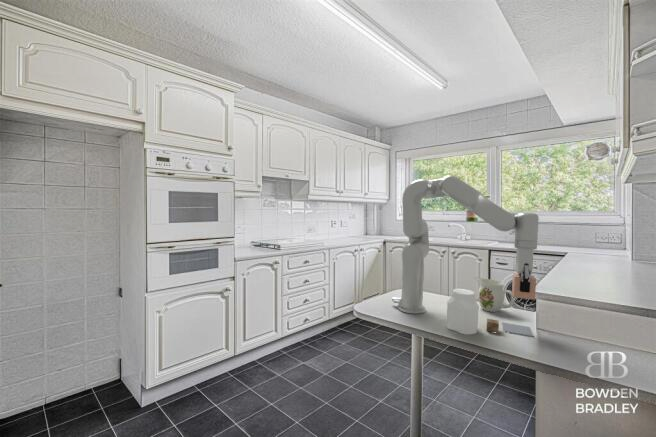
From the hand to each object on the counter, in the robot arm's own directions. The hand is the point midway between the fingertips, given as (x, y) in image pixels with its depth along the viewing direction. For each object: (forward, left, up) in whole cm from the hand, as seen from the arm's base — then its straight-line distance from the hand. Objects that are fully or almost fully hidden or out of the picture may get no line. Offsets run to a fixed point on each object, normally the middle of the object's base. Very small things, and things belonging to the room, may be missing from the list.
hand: (523, 289), depth 125 cm
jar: (-21, -10, -17) cm, 29 cm away
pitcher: (-9, +21, -17) cm, 29 cm away
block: (-10, -6, -17) cm, 21 cm away
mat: (-1, 0, -17) cm, 17 cm away
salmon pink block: (0, 0, -3) cm, 3 cm away
